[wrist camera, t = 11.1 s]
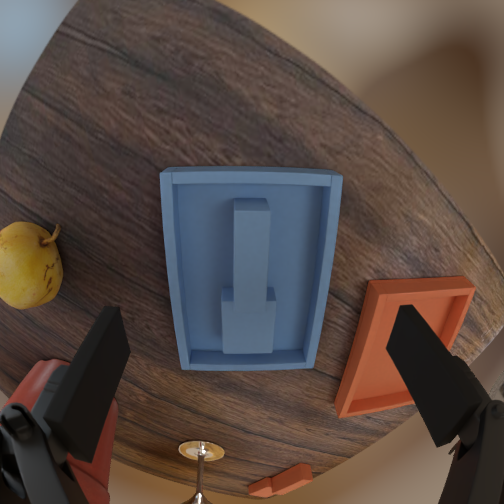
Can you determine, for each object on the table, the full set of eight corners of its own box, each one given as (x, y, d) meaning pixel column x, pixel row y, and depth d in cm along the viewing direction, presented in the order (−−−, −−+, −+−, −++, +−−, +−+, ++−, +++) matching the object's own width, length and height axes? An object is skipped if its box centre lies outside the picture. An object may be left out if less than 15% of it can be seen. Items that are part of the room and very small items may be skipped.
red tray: (463, 275, 25) (476, 287, 23) (415, 388, 32) (422, 401, 30) (368, 279, 24) (379, 294, 22) (333, 402, 31) (338, 418, 29)
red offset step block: (296, 461, 38) (299, 478, 35) (313, 465, 39) (317, 481, 36) (248, 485, 41) (249, 500, 38) (265, 488, 42) (267, 503, 39)
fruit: (11, 198, 14) (-42, 261, 15) (51, 297, 15) (-10, 337, 16) (68, 194, 21) (7, 247, 22) (102, 270, 22) (35, 310, 23)
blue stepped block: (220, 197, 20) (218, 210, 18) (279, 198, 21) (286, 211, 18) (223, 338, 25) (222, 364, 23) (270, 337, 26) (273, 363, 23)
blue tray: (332, 169, 21) (343, 175, 18) (308, 350, 27) (313, 368, 25) (167, 167, 20) (159, 172, 18) (184, 352, 27) (181, 369, 25)
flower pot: (90, 333, 26) (25, 472, 11) (159, 429, 32) (143, 540, 18) (1, 346, 27) (-56, 436, 12) (68, 427, 33) (40, 512, 19)
